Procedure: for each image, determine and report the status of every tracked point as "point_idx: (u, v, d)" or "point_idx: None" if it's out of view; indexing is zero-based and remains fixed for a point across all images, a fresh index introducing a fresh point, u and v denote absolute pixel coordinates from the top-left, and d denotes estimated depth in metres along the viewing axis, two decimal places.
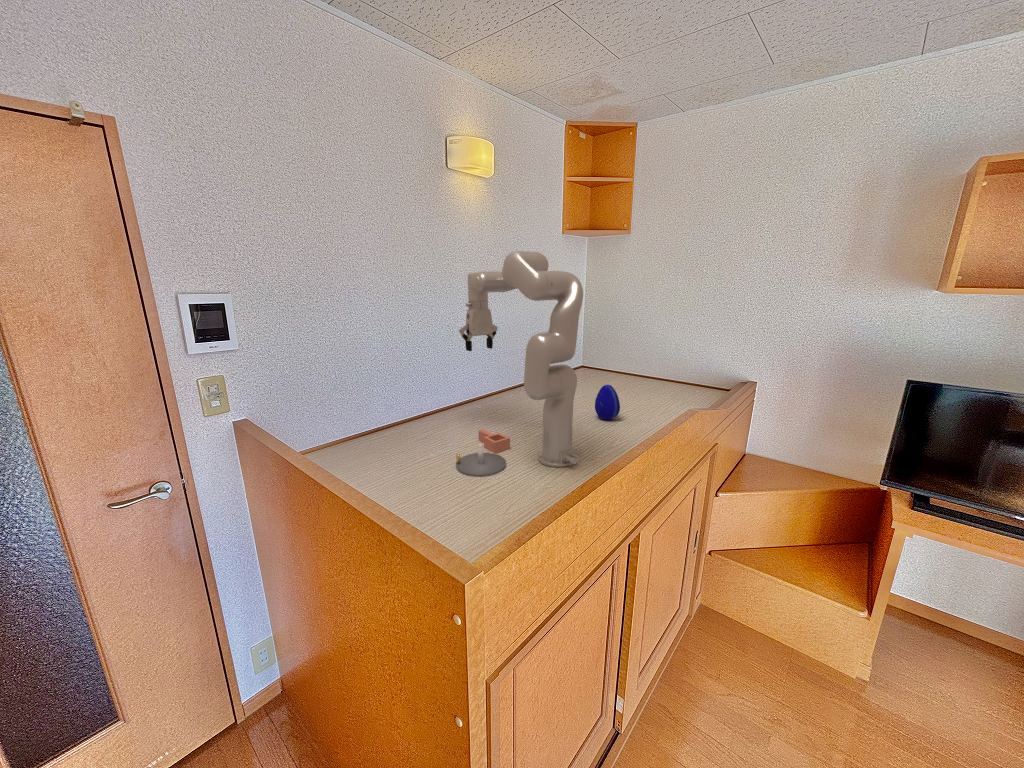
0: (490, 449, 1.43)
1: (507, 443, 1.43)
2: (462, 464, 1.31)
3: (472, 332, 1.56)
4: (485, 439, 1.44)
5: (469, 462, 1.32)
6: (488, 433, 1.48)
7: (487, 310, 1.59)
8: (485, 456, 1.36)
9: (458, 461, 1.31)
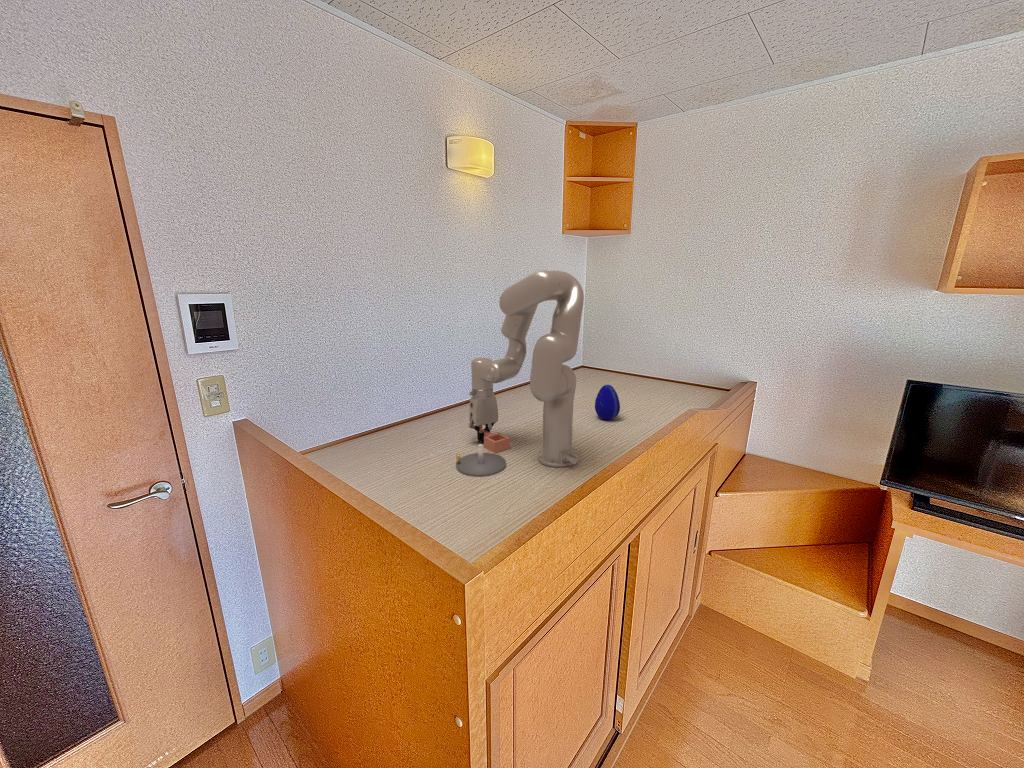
0: (490, 449, 1.43)
1: (507, 443, 1.43)
2: (462, 464, 1.31)
3: (476, 423, 1.45)
4: (485, 439, 1.44)
5: (469, 462, 1.32)
6: (488, 433, 1.48)
7: (492, 397, 1.47)
8: (485, 456, 1.36)
9: (458, 461, 1.31)
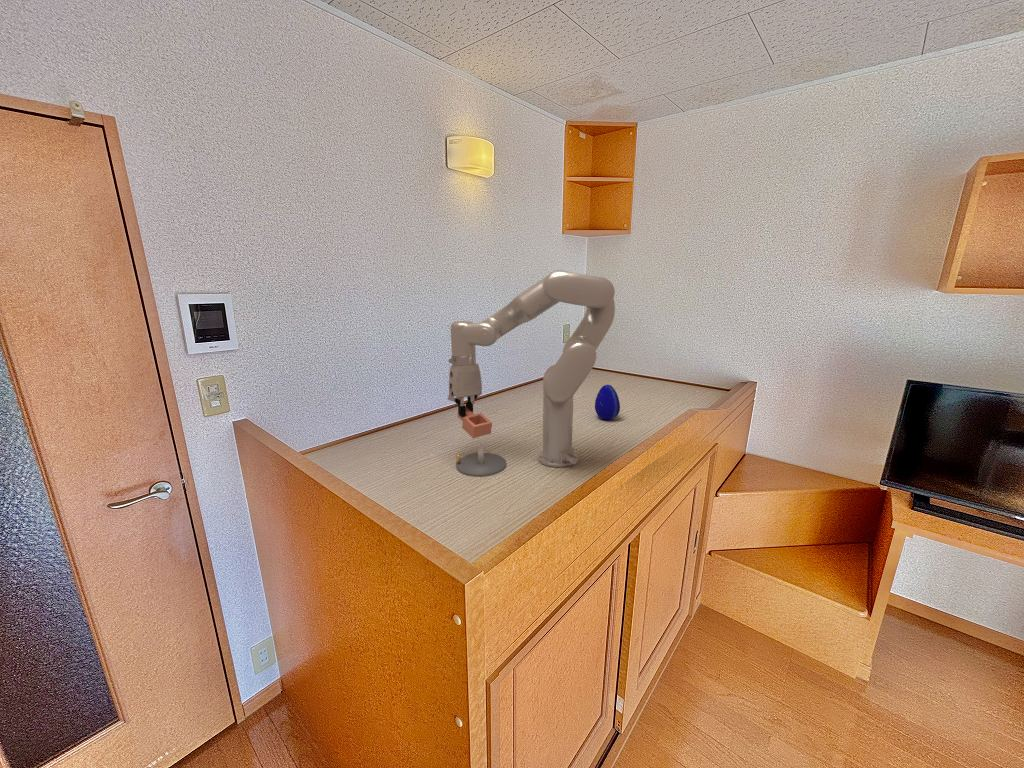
0: (468, 432, 1.28)
1: (488, 428, 1.29)
2: (462, 464, 1.31)
3: (456, 394, 1.28)
4: (464, 420, 1.29)
5: (469, 462, 1.32)
6: (469, 412, 1.33)
7: (475, 366, 1.30)
8: (485, 456, 1.36)
9: (458, 461, 1.31)
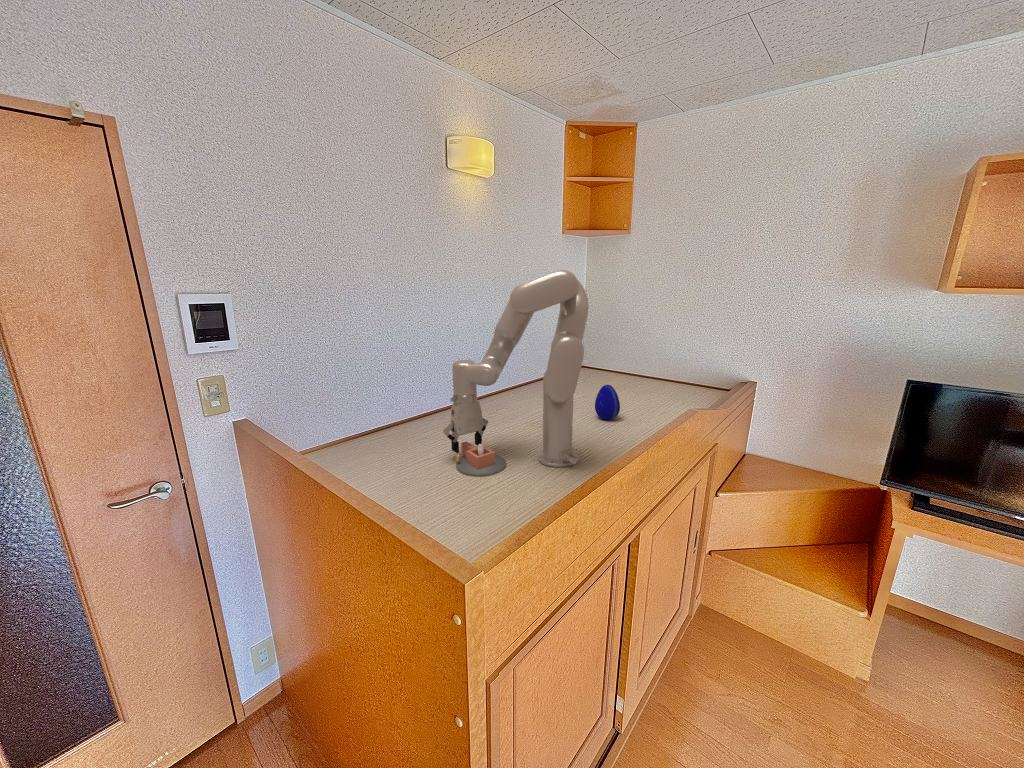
0: (473, 464, 1.29)
1: (492, 458, 1.30)
2: (462, 464, 1.31)
3: (458, 432, 1.31)
4: (467, 453, 1.30)
5: None
6: (471, 446, 1.34)
7: (476, 404, 1.33)
8: None
9: (458, 461, 1.31)
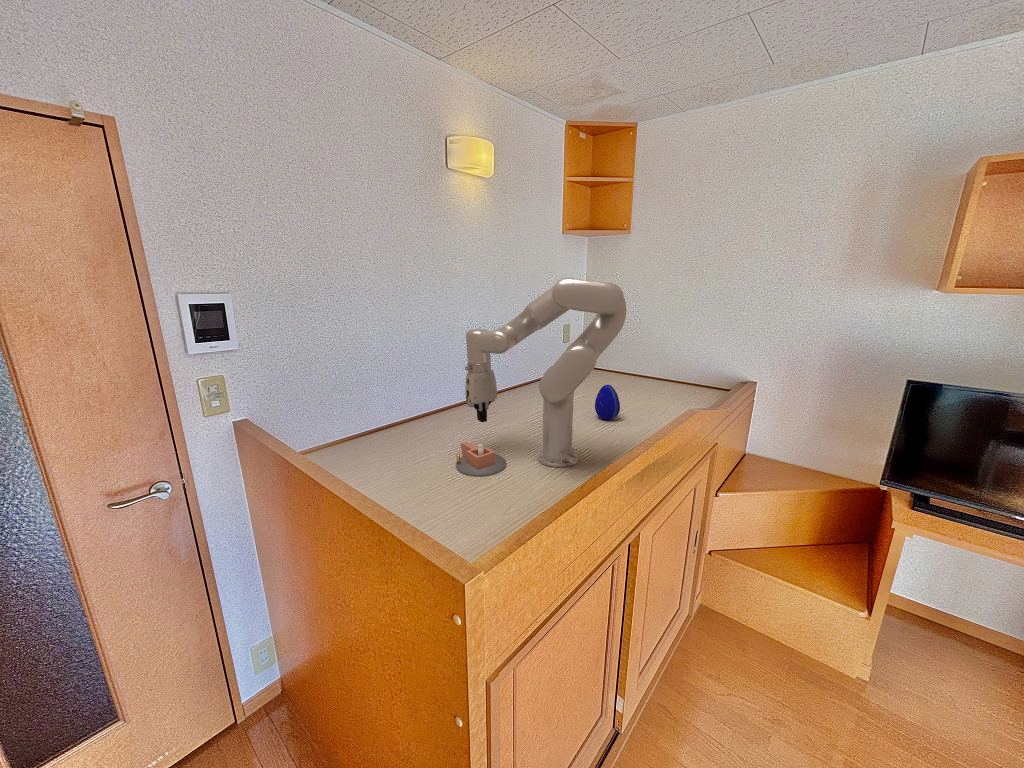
0: (473, 464, 1.29)
1: (492, 458, 1.30)
2: (462, 464, 1.31)
3: (473, 400, 1.32)
4: (467, 453, 1.30)
5: None
6: (471, 446, 1.34)
7: (490, 373, 1.34)
8: None
9: (458, 461, 1.31)
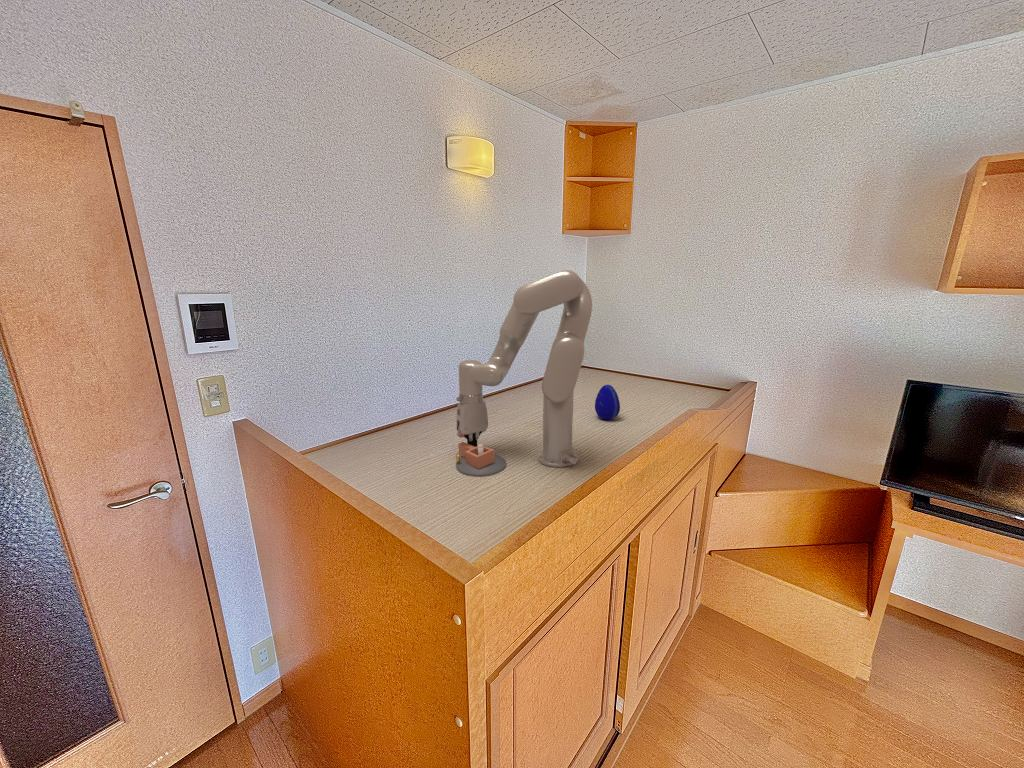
0: (473, 464, 1.28)
1: (491, 456, 1.30)
2: (462, 464, 1.31)
3: (463, 431, 1.32)
4: (466, 454, 1.30)
5: None
6: (469, 446, 1.34)
7: (481, 404, 1.35)
8: None
9: (458, 461, 1.31)
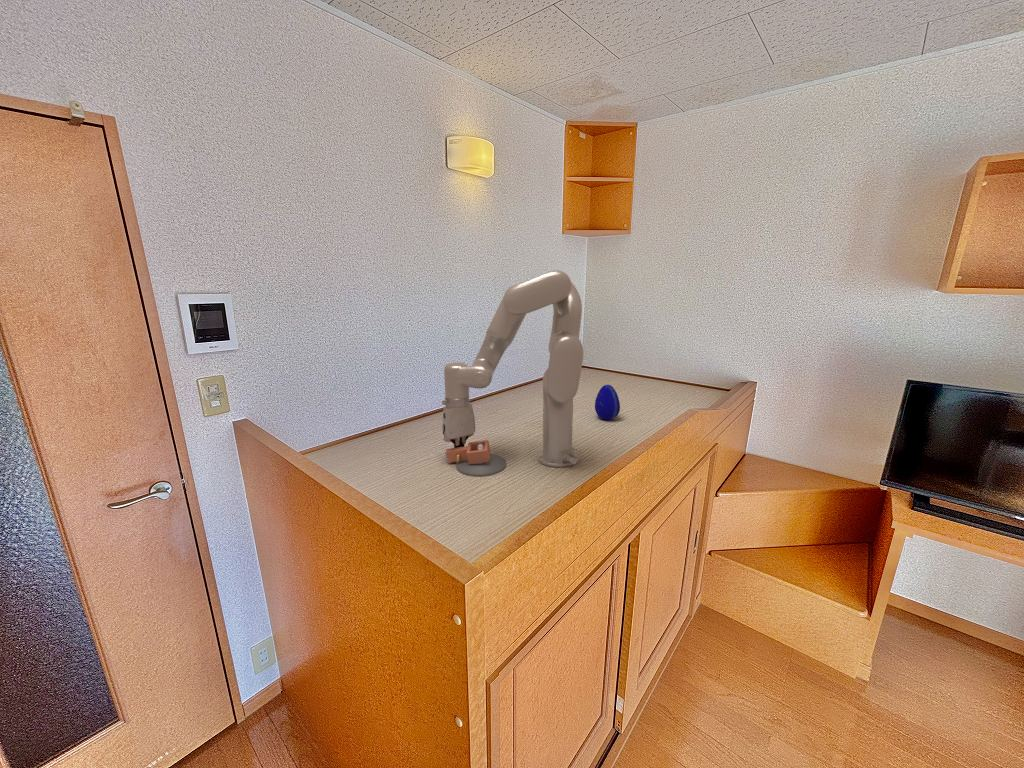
0: (480, 460, 1.29)
1: (489, 446, 1.34)
2: (462, 464, 1.31)
3: (449, 435, 1.29)
4: (469, 454, 1.29)
5: None
6: (461, 448, 1.32)
7: (468, 407, 1.31)
8: None
9: (458, 461, 1.31)
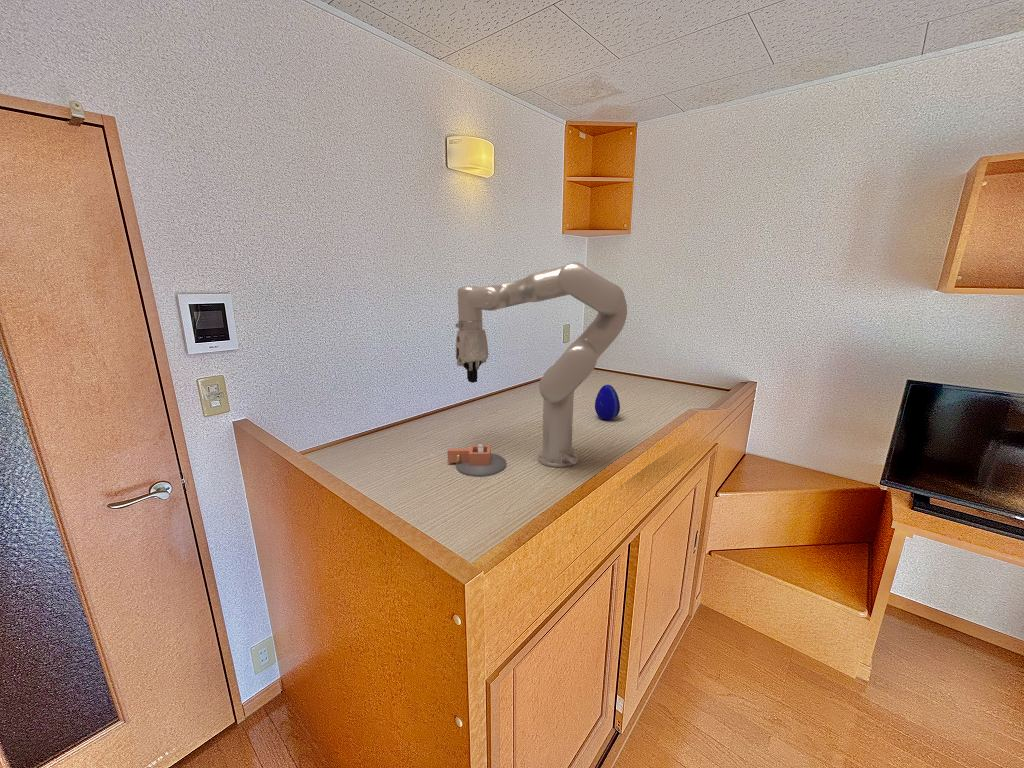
0: (481, 463, 1.30)
1: (490, 451, 1.35)
2: (462, 464, 1.31)
3: (463, 358, 1.29)
4: (471, 455, 1.29)
5: None
6: (463, 449, 1.32)
7: (481, 331, 1.31)
8: None
9: (458, 461, 1.31)
